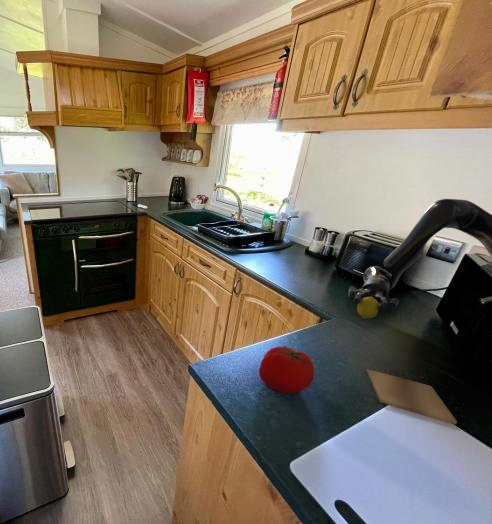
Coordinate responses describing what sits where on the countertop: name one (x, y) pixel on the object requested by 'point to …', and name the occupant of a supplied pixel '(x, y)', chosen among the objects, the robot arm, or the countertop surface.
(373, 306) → the lemon
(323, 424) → the countertop surface
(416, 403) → the board
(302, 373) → the tomato
